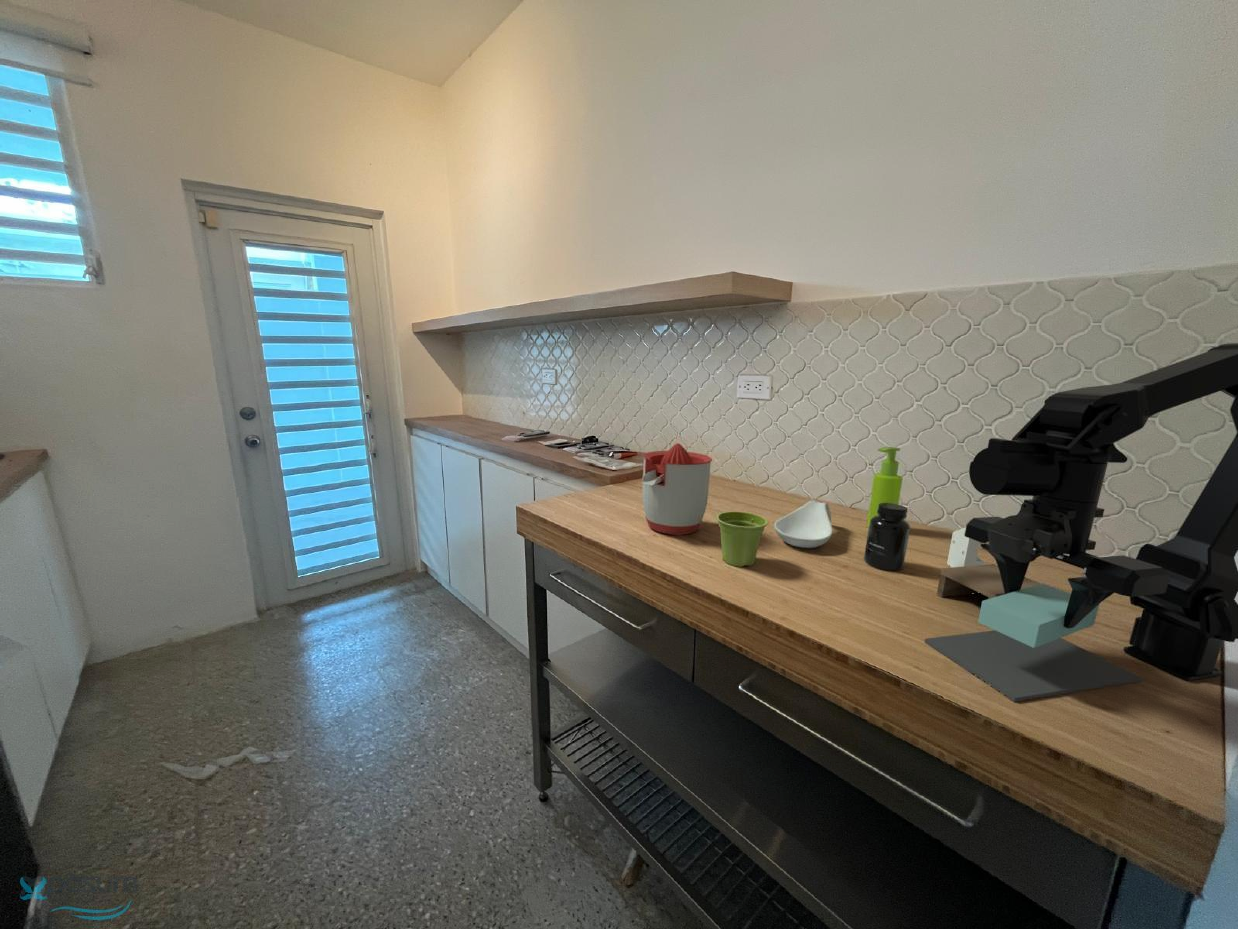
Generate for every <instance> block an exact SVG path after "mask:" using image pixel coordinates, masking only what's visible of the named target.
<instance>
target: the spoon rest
mask: <svg viewBox="0 0 1238 929" xmlns="http://www.w3.org/2000/svg"><path fill="white" fill-rule="evenodd" d="M831 514H832V513H831V510H830V507H829V504H828V503H827V502H818V501H817V500H813V499H811V500H809V501H808V502H807V503H805V504H803V505H802V506H799V508H797V509H795V510H793V511H791V512H790V513H788V514H786V515H783V516H782V517H781V518H778V520H776V521H775V523H774V525H773V528H774V531H775V532H776V534H777V536H778V537H779V538H780V539H781V540H782V541H784V542H785V543H786V544H789V545H790V546H793V547H797V548H801V549H814V548H817V547H821V546H822V545H824V544H826V543H827V542H828V541H830V539H831V538H832V536H833V527H832V526H833V525H832V516H831Z"/></svg>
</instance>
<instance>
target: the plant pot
mask: <svg viewBox="0 0 1238 929" xmlns="http://www.w3.org/2000/svg"><path fill="white" fill-rule="evenodd" d="M716 520H717V522H718V527H719V528H720V530H719V531H720V539H721V540H720V541H721V542H720V543H721V544H720V545H721V557H722V560H724V561H725V563H727V564H728V565H731V566H733V567H734V566H735V567H739V568H741V567H745V566H748V567H750V566H753V565H754V564H755V562H756V557H757V554H758V550H759V545H760V542H761V539H762V538H761V537H762V534H763V532H764V530H765V527H766V526H767V525H768V519H767V518H765V517H763V516H762V515H759V514H757V513H753V512H749V511H748V512H747V511H735V510H734V511H733V510H731V511H725V512H720V513H718V514H717V515H716Z"/></svg>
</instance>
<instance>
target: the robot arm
mask: <svg viewBox="0 0 1238 929" xmlns="http://www.w3.org/2000/svg"><path fill="white" fill-rule="evenodd" d="M1218 392H1222V393H1224V394H1225V395H1228V396H1230V397H1231V398H1233V401H1232V403H1231V406H1230V408H1229V412H1230V415H1231V418H1232V421H1233V425H1234V428H1235V432H1236V433H1235V436H1234V438H1233V439H1232V441H1231V442H1230V444H1229V446H1228V448H1227V449H1226V451H1225V453H1224V454H1223V456H1222V458H1221V459H1220V461H1219V463H1218V465H1217V466H1216V467H1215V469H1214V471H1213V473H1212V474H1211V476H1210V478H1209V480H1208V481H1207V482H1206V484H1205V486H1204V487H1203V489H1202V490H1201V492H1200V494H1199V496H1198V498H1197V499H1196V501H1195V502H1194V504H1193V506H1192V507H1191V509H1190V511H1189V512H1188V514H1187V516H1186V518H1184V520H1183V522H1182V524H1181V526H1180V527H1179V529H1178V530H1177V532H1176V534H1175V536H1173V538H1171V539H1168V540H1167V541H1165V542H1162V543H1160V544H1158V545H1154V544H1152V543H1145V544H1144V545H1142V546H1141V547H1140V548H1139V550H1138V553H1137V555H1136V557H1135V558H1133V557H1131V556H1130V557H1129V556H1127V555H1112V556H1098V555H1097V556H1096V555H1093V554H1091V553H1087V551H1093V550H1094V551H1095V548H1096V545H1097V544H1096V543H1097V541H1095V540H1091V539H1090V538H1091V533H1092V529H1093V525H1094V520H1095V518H1103V517H1104V513H1105V508H1102V507H1101V508H1100V507H1098V505H1099V500H1100V496H1101V493H1102V489H1103V484H1104V480H1105V476H1106V472H1107V468H1108V464H1109V463H1115V464H1118V463H1119V464H1125V463H1126V462H1128V457H1127V456H1126V455H1125V454H1124V453H1123V452H1121V450H1119V449H1118V448H1117V447H1116V445H1115V443H1118V442H1119V441H1121V440H1123V439H1125V438H1126V437H1128V436H1130V435H1132V434H1134V433H1136V432H1138V431H1140V430H1142V429H1143V428H1144V427H1145V425H1146V424H1147V422H1148V419H1149V418H1152V417H1153V416H1154V415H1156V414H1159V413H1161V412H1164V411H1165V412H1166V411H1167V410H1171V409H1173V408H1175V407H1179V406H1183V405H1184V404H1187V403H1190V402H1192V401H1195V400H1196V401H1197V400H1198V399H1202V398H1204V397H1207V396H1209V395H1213V394H1215V393H1216V394H1217V393H1218ZM1043 402H1044V405H1043V406H1042V407H1041V408H1040V409H1039V410H1038V411H1037V412H1036V413H1035V414H1034V416H1032V417H1031V418H1030V419H1029V420H1028V421H1027V423H1025V425H1024V426H1022V428H1021V429H1020V430H1019V431H1018V432H1017V433H1015V434H1014V436H1013V437H1012V438H1011V440H1010V439H1005V438H999V437H998V438H997V437H994V438H993V437H991V438H989V439H988V443H987V447H985V448H983V449H981V450H980V451H979V452H977V453H976V455H975V456H974V458H973V460H972V461H971V462H970V463H969V468H968V469H969V472H968V475H969V480H970V482H971V485H972V486H973V488H974V489H975V490H976V491H977V492H979V493H980V494H982V495H985V496H986V495H987V496H1017V497H1018V496H1019V497H1020V496H1021V497H1025V496H1026V497H1032V499H1024V500H1023V503H1021V505H1020V510H1019V511H1018V513H1017V514H1015V515H1014V514H1013V515H1009V516H1006V517H1001V516H983V517H973V518H972V519H970V520H969V521H968V522H967V523H966V524H965V527H966V529H965V534H964V535H965V537H968V538H970V539H973V540H976V541H978V542H980V547H981V549H983V550H985V551H987V552H988V553H989V554H990V555H991V556H992V557H993V558H994V559H995V562H996V565H997V566H998V568H999V571H1000V575H1001V579H1002V584H1003V588H1004V592H1005V594H1008V593H1011V592H1015V591H1018V590H1020V589H1021V587H1022V584H1023V581H1024V578H1025V577H1026V574H1027V571H1028V569H1029V566H1030V563H1031V562H1034V561H1036V560H1037V558H1039V557H1041V556H1042V557H1044V558H1047V559H1050V560H1057V561H1060V562H1062V563H1065V564H1068V565H1071V566H1073V567H1076V568H1079V569H1082V570H1083V572H1082V576H1080V577H1078V576H1077V577H1070V578H1069V577H1068V578H1067V582H1068V583H1069V585H1070V588H1071V596H1070V599H1069V603H1068V606H1067V610H1066V613H1065V617H1064V627H1065V628H1073V627H1075V626H1076V625H1077V624H1078V623H1079V622H1080V621H1081V620H1082V619H1083V618H1084V617H1085V616H1087V615H1088V614H1089V613H1090V612H1091V611H1092V610H1093V609H1094V608H1095V607H1096V606H1097V605H1099V606H1100V604H1101V603H1102V602H1104V601H1105V600H1106V599H1107V598H1110V597H1111V596H1112V595H1113V594H1117V595H1119V596H1125V597H1129V600H1130V601H1129V602H1130V604H1131V605H1133V606H1135V607H1138V608H1140V609H1142V612H1141V616H1137V617H1135V620H1134V623H1133V627H1132V630H1131V634H1130V637H1129V640H1128V644H1129V645H1130V646H1129V645H1128V646H1124V647H1123V649H1122V650H1123V651H1124V652H1125V653H1126V654H1129V655H1131V656H1132V657H1135V658H1138V659H1140V660H1142V661H1144V662H1146V663H1149V664H1151V665H1153V666H1155V667H1156V668H1159V669H1161V670H1164V671H1165V672H1168V673H1169V674H1172V675H1174V676H1176V677H1178V678H1181V679H1182V680H1186V681H1194V680H1199V679H1206V678H1211V677H1212V678H1213V677H1218V676H1221V675H1222V673H1223V672H1222V670H1220V669H1218V668H1217V667H1216V664H1217V661H1218V657H1219V656H1220V651H1221V649H1222V646H1223V643H1224V641H1225V642H1228V643H1235V641H1236V640H1238V602H1237V601H1236V600H1235V599H1236V596H1238V567H1237V563H1236V561H1235V557H1236V555H1237V552H1238V342H1230V343H1223V344H1219V345H1218V346H1213V347H1212V348H1210V349H1208V350H1207V351H1206V352H1203V353H1200V354H1198V355H1195V356H1192V357H1189V358H1185V359H1183V360H1180V361H1177V362H1174V363H1172V364H1170V365H1166V366H1164V367H1161V368H1158V369H1155V370H1153V371H1150V372H1147V373H1144V374H1142V375H1139V376H1135V377H1133V378H1130V379H1127V380H1124V381H1121V382H1118V383H1113V384H1106V385H1097V386H1096V385H1095V386H1084V387H1079V388H1074V389H1068V390H1064V391H1063V390H1062V391H1058V392H1055V393H1053V394H1051V395H1050V396H1049V397H1047V398H1046V399H1045V400H1044V401H1043ZM1215 667H1216V668H1215Z"/></svg>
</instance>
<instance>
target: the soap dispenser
mask: <svg viewBox="0 0 1238 929" xmlns="http://www.w3.org/2000/svg"><path fill="white" fill-rule="evenodd" d="M900 450H901V448H900V447H893V446H884V447H880V448H878V449H877V451H878V452H882V453H887V455H886V456H887V457H886V459H883V460H882V461H881V468H880V472H878V473H874V475H873V481H872V488H871V495H870V499H869V500H870V503H869V506H868V507H869V508H868V515H867V522H866V527H867V528H868V527H869V524H870V520H871V519H872V518H873V517H875V516H878V514H877V510H878V506H879V504H880V503H893V504H898V505H900V504H899V502H900V496H901V492H902V491H901V490H902V486H903V479H904V477H902V476H900V475H898V470H899V464H900V462H899V461H897V460H896V454H897V451H898V452H900Z"/></svg>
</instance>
